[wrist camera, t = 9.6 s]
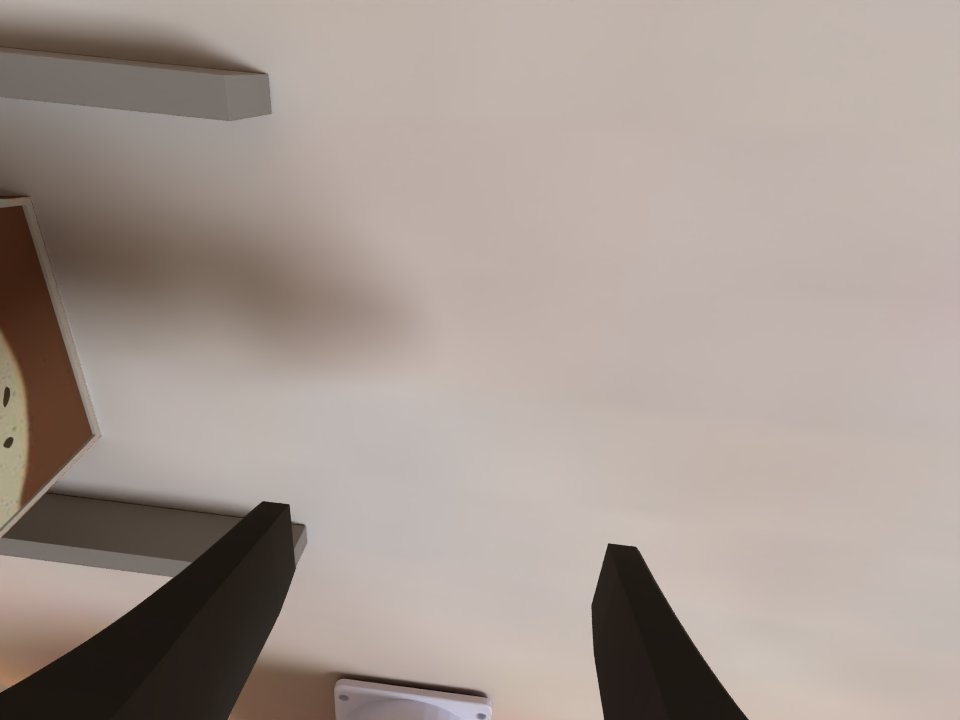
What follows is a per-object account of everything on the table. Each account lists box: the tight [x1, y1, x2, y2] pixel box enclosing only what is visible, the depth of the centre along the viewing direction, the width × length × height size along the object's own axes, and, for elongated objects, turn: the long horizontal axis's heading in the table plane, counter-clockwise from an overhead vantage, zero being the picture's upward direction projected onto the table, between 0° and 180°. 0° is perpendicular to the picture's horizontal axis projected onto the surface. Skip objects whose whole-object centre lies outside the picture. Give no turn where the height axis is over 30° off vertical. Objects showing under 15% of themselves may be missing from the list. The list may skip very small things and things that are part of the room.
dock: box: [0, 47, 307, 577], centre depth 19 cm, size 18×17×2 cm
